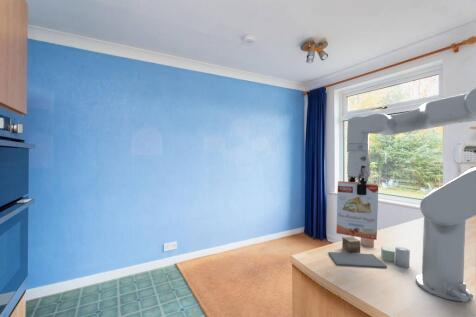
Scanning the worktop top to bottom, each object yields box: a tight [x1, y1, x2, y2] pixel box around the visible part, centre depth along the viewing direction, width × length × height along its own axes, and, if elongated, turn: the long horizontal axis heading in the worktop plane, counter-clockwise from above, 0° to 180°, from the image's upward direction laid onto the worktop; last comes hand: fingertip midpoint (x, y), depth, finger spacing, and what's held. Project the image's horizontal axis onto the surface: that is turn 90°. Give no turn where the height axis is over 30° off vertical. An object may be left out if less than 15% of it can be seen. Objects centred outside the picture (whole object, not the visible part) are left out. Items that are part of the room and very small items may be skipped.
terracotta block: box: [360, 237, 375, 248], centre depth 103 cm, size 4×4×4 cm
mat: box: [328, 251, 388, 269], centre depth 87 cm, size 10×18×1 cm, turn 84°
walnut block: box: [341, 236, 361, 253], centre depth 97 cm, size 5×5×5 cm
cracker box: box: [335, 180, 379, 241], centre depth 87 cm, size 14×6×21 cm, turn 63°
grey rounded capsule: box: [394, 246, 411, 269], centre depth 84 cm, size 4×4×6 cm
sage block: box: [380, 246, 395, 263], centre depth 89 cm, size 4×4×4 cm
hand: (356, 192), depth 87 cm, fingers closed on cracker box, 7 cm apart
